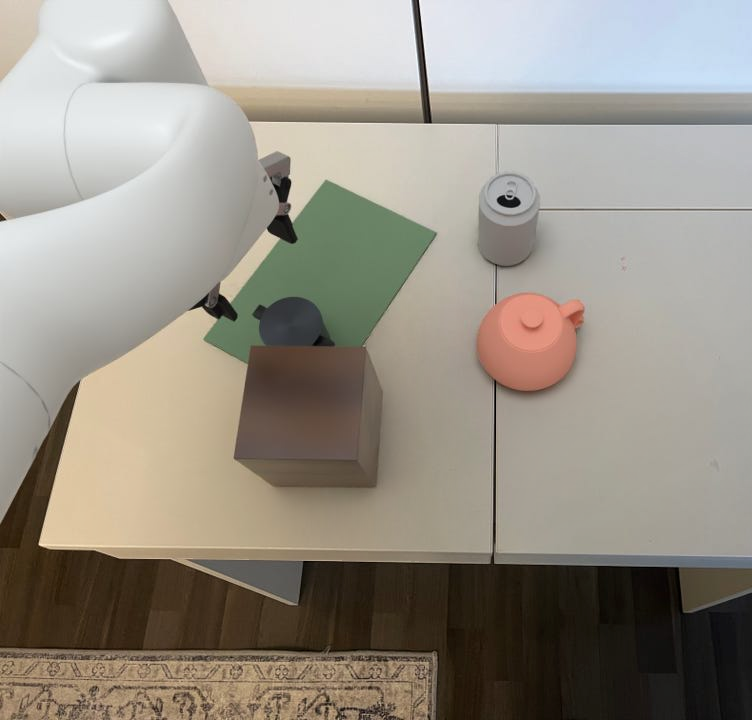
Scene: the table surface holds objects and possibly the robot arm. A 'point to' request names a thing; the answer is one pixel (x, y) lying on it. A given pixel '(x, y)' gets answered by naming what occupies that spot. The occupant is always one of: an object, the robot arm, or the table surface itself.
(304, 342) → the pot
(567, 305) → the sugar bowl
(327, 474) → the stand
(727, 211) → the table surface
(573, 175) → the table surface
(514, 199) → the can
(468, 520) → the table surface
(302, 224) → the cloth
